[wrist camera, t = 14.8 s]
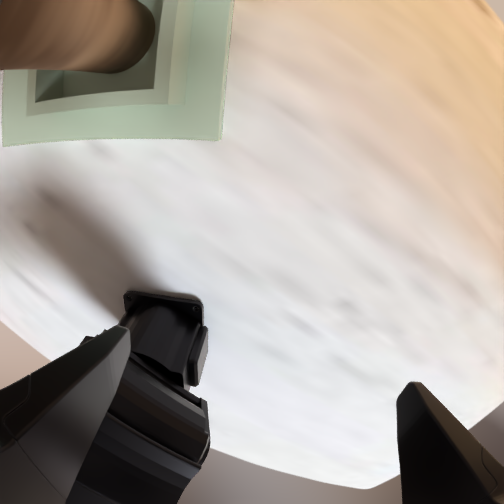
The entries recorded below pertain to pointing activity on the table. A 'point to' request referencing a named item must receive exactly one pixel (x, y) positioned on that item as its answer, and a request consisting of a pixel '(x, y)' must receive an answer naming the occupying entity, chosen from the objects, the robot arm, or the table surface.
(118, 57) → the pepper mill
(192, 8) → the sage tray
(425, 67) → the table surface
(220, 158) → the table surface
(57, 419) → the robot arm
